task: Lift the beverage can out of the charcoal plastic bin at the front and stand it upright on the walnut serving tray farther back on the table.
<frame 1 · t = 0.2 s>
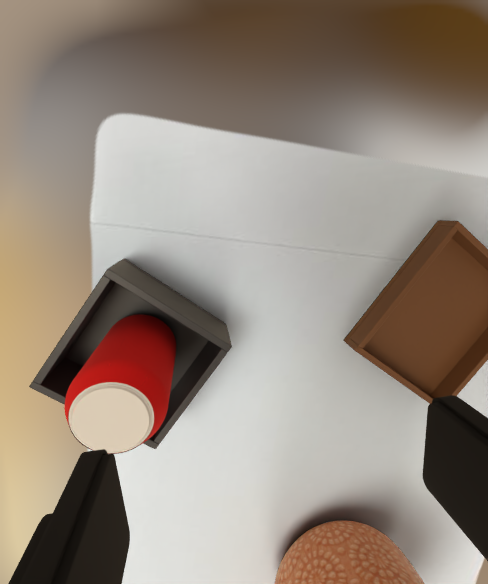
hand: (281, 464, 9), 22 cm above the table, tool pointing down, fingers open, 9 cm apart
bin: (144, 339, 31), on the table
planter: (327, 551, 41), on the table
beverage can: (143, 341, 31), resting on bin
tray: (431, 316, 35), on the table
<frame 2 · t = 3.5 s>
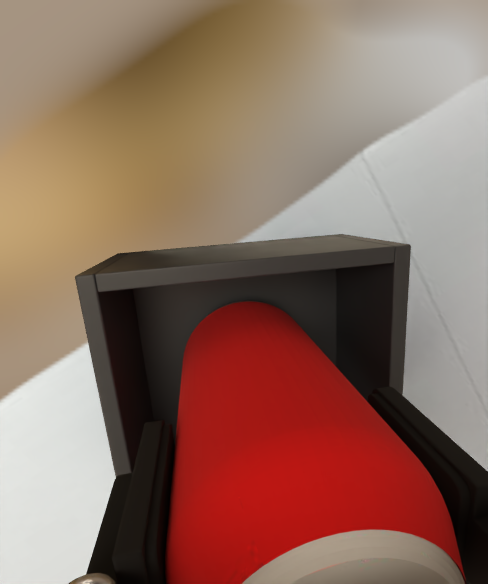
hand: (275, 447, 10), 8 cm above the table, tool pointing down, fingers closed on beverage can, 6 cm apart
bin: (242, 348, 17), on the table
beverage can: (243, 351, 17), resting on bin, touching gripper
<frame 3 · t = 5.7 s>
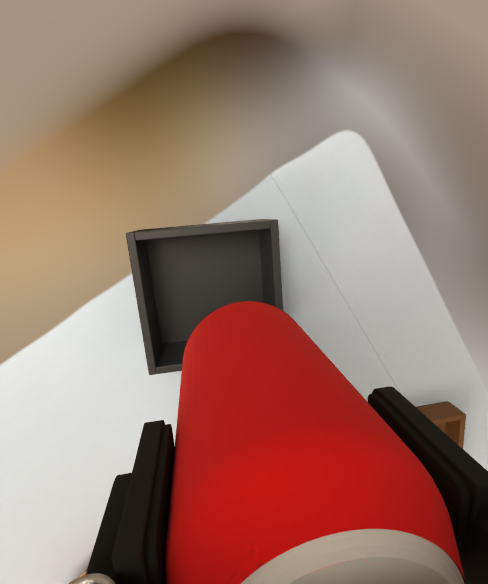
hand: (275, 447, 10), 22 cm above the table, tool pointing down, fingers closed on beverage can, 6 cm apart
bin: (208, 284, 31), on the table
beverage can: (243, 351, 17), point 14 cm above the table, touching gripper
tray: (386, 460, 39), on the table
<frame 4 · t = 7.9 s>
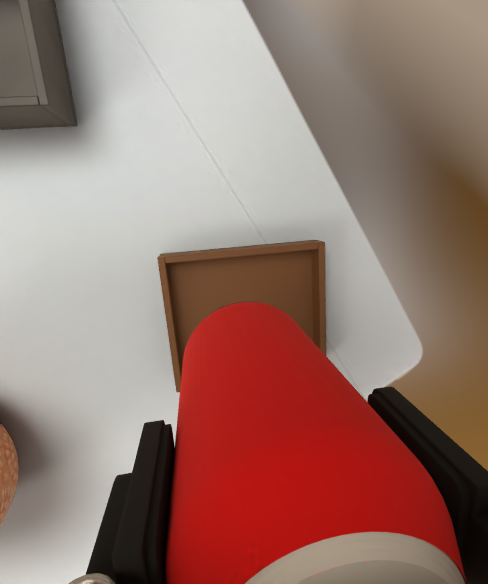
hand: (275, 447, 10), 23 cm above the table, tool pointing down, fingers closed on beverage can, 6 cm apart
beverage can: (243, 352, 17), point 16 cm above the table, touching gripper
tray: (244, 311, 33), on the table
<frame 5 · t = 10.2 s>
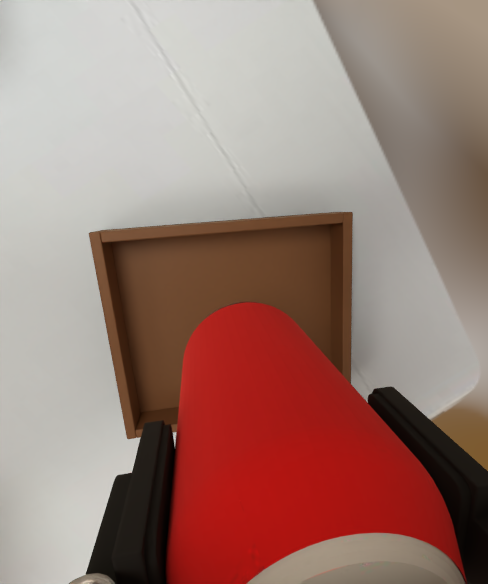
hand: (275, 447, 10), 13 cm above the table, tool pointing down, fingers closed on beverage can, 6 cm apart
beverage can: (243, 352, 17), point 6 cm above the table, touching gripper
tray: (231, 317, 23), on the table
when the fingers open (8 cm above the table, at t = 12.1 s): beverage can stays where it is, resting on tray.
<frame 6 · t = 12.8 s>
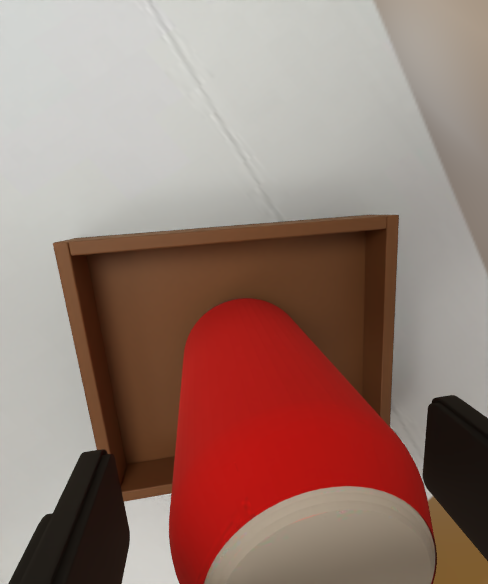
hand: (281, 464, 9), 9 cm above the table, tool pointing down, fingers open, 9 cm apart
beverage can: (241, 346, 18), resting on tray
tray: (240, 345, 18), on the table
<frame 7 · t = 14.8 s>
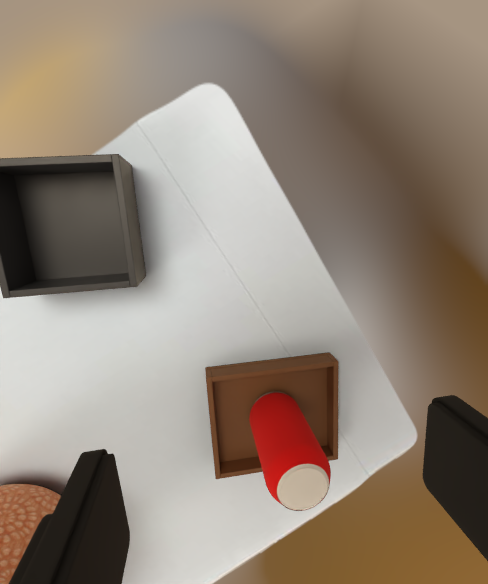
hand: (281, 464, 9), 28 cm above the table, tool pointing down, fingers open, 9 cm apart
bin: (81, 226, 33), on the table
planter: (27, 520, 39), on the table
beverage can: (272, 409, 40), resting on tray
tray: (271, 408, 40), on the table
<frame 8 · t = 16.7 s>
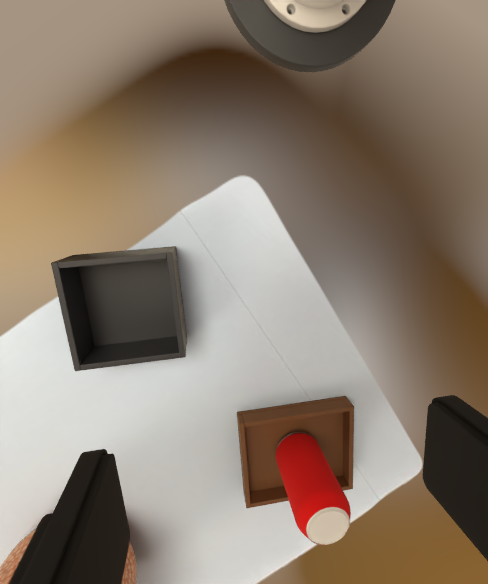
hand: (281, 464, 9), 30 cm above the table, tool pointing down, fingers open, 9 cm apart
bin: (132, 298, 38), on the table
planter: (82, 543, 45), on the table
beverage can: (294, 446, 45), resting on tray
tray: (293, 445, 46), on the table
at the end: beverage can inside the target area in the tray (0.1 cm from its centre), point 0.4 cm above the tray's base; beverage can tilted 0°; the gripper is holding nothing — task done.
